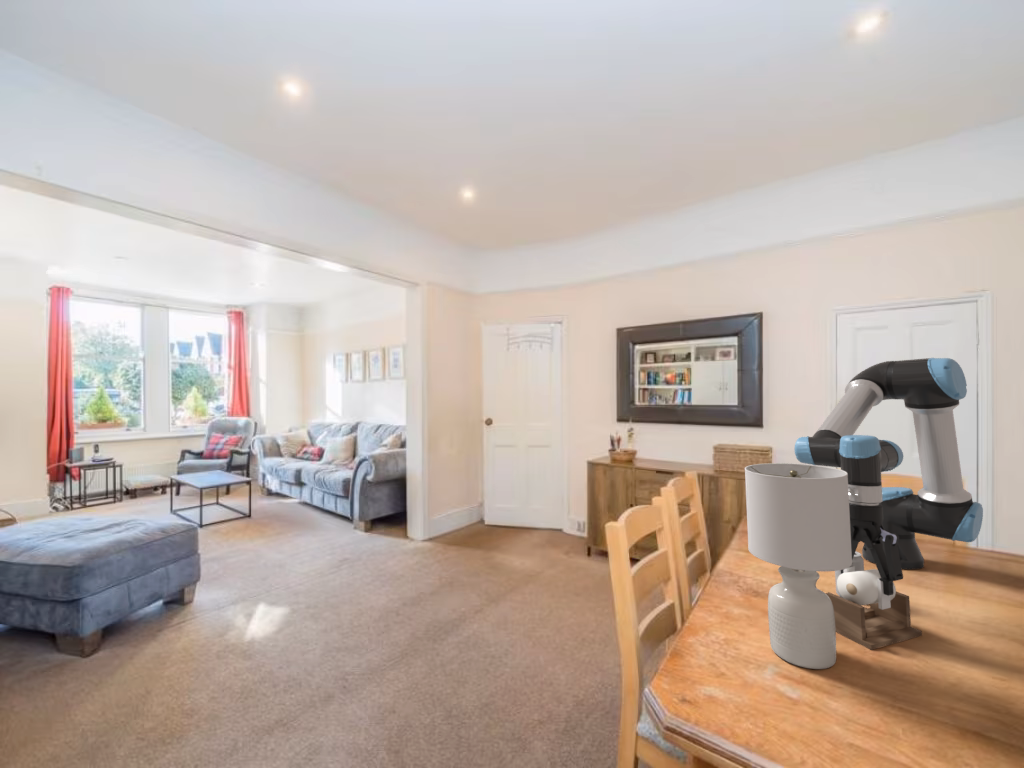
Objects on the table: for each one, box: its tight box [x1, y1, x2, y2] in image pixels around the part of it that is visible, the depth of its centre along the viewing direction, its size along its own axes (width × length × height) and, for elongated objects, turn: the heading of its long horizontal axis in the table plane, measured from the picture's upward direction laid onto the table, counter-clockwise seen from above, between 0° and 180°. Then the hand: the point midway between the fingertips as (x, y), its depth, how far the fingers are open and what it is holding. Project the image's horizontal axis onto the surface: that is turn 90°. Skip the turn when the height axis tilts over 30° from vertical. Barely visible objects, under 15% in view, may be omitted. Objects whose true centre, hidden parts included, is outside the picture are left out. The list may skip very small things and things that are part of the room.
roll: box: [837, 568, 897, 606], centre depth 105 cm, size 9×7×7 cm
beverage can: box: [834, 550, 865, 598], centre depth 121 cm, size 6×6×12 cm
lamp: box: [744, 462, 852, 670], centre depth 97 cm, size 19×19×39 cm
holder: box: [825, 590, 923, 650], centre depth 105 cm, size 16×12×8 cm
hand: (866, 600), depth 105 cm, fingers closed on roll, 7 cm apart
